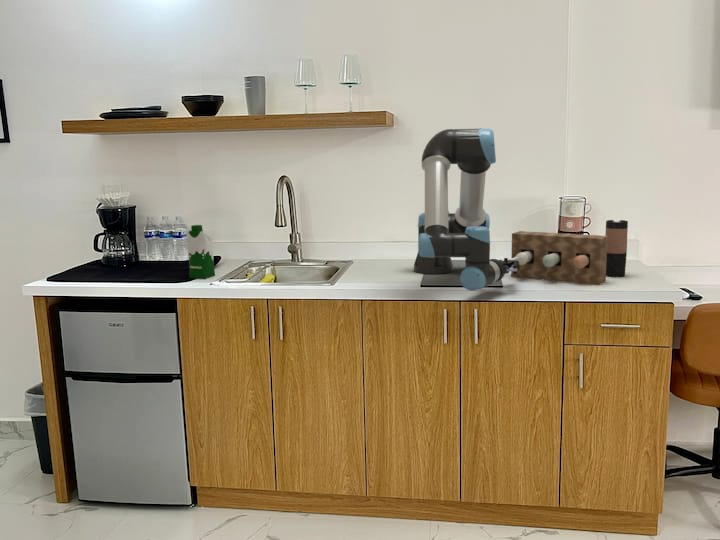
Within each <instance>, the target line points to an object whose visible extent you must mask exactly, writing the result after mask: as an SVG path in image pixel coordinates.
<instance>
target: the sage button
mask: <svg viewBox="0 0 720 540" xmlns="http://www.w3.org/2000/svg"><path fill="white" fill-rule="evenodd" d="M560 260H561V256H560V255H559V254H558V253H552V254H548V255H546V256H544V258H543V264H544V265H545V266H546V267H552V266H554V265H555V264H557V263H559V262H560Z"/></svg>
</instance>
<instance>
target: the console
mask: <svg viewBox="0 0 720 540" xmlns="http://www.w3.org/2000/svg"><path fill="white" fill-rule="evenodd" d="M607 237H608V236H605V235H599V234H598V235H597V234H596V235H595V234H594V235H593V234H581V233H579V234H578V233H559V232H544V231H543V232H542V231H541V232H540V231H526V230H525V231H524V230H519V231H516V232H513V233H511V258H510V259H512V258H514V257H516V255H517V254H518V253H521V252H525V251H531V252H532V253H533V255H534V257H533V260H532V261H530V262H527V263H526V264H524V265H519V269H518V271H517V273H516V274H515V273H511V272H510V277H511V278H521V279H531V280H540V279H544V280H543V281H551V280H555V281H554V282H562V281H563V283H564V282H565V283H573V284H574V283H575V284H583V285H584V284H587V285H596V286H597V285H598V286H601V285H602V284H604V282H606V279H607V276H606V261H607ZM552 253H558V254H559V255H560V256H561V260H560V262H559V263H557V264H555V265H554V266H552V267H546V266H545V265H544V264H543V258H544V256H546V255H548V254H552ZM582 254H589V255H590V264H588V265H586V266H585V267H583V268H577V267H576V266H575V265H574V259H575V257H577V256H579V255H582Z"/></svg>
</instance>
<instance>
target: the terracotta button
mask: <svg viewBox="0 0 720 540" xmlns="http://www.w3.org/2000/svg"><path fill="white" fill-rule="evenodd" d="M588 264H590V255H589V254H582V255H579V256H577V257H575V259H574V265H575V266H576V267H577V268H583V267H585V266H586V265H588Z"/></svg>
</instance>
